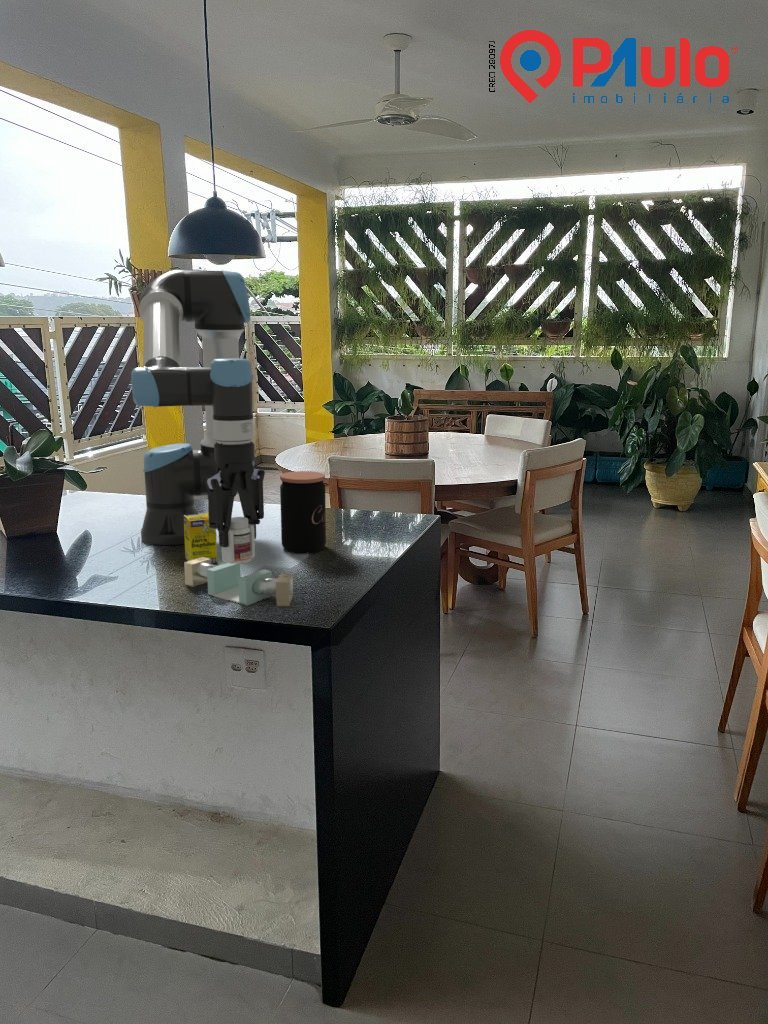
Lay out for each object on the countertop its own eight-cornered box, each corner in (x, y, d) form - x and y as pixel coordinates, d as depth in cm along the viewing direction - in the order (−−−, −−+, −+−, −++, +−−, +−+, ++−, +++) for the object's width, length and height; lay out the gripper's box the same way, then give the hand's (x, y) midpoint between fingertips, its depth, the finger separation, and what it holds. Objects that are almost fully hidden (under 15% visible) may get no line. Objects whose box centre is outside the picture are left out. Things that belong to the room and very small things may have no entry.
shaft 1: (182, 583, 158) (181, 561, 157) (201, 577, 162) (200, 556, 161) (212, 592, 153) (210, 570, 152) (230, 586, 157) (229, 564, 156)
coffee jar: (318, 555, 178) (317, 480, 174) (275, 552, 180) (273, 478, 176) (331, 543, 189) (330, 472, 184) (289, 540, 191) (288, 470, 186)
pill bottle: (228, 557, 152) (226, 516, 150) (252, 556, 152) (251, 516, 151) (225, 564, 147) (223, 522, 146) (250, 563, 148) (248, 521, 146)
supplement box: (191, 568, 168) (189, 520, 166) (185, 561, 173) (182, 514, 171) (218, 565, 171) (216, 517, 168) (211, 558, 176) (208, 512, 173)
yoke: (208, 594, 152) (206, 569, 151) (234, 585, 158) (233, 561, 157) (246, 606, 146) (245, 580, 145) (272, 596, 151) (271, 571, 150)
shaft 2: (249, 605, 146) (248, 581, 145) (254, 596, 151) (253, 573, 150) (290, 606, 146) (290, 582, 145) (294, 597, 151) (293, 574, 150)
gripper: (211, 448, 135) (217, 573, 141) (281, 438, 149) (284, 552, 155) (183, 444, 140) (190, 566, 145) (254, 434, 154) (258, 545, 159)
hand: (238, 558), depth 150 cm, fingers closed on pill bottle, 5 cm apart
